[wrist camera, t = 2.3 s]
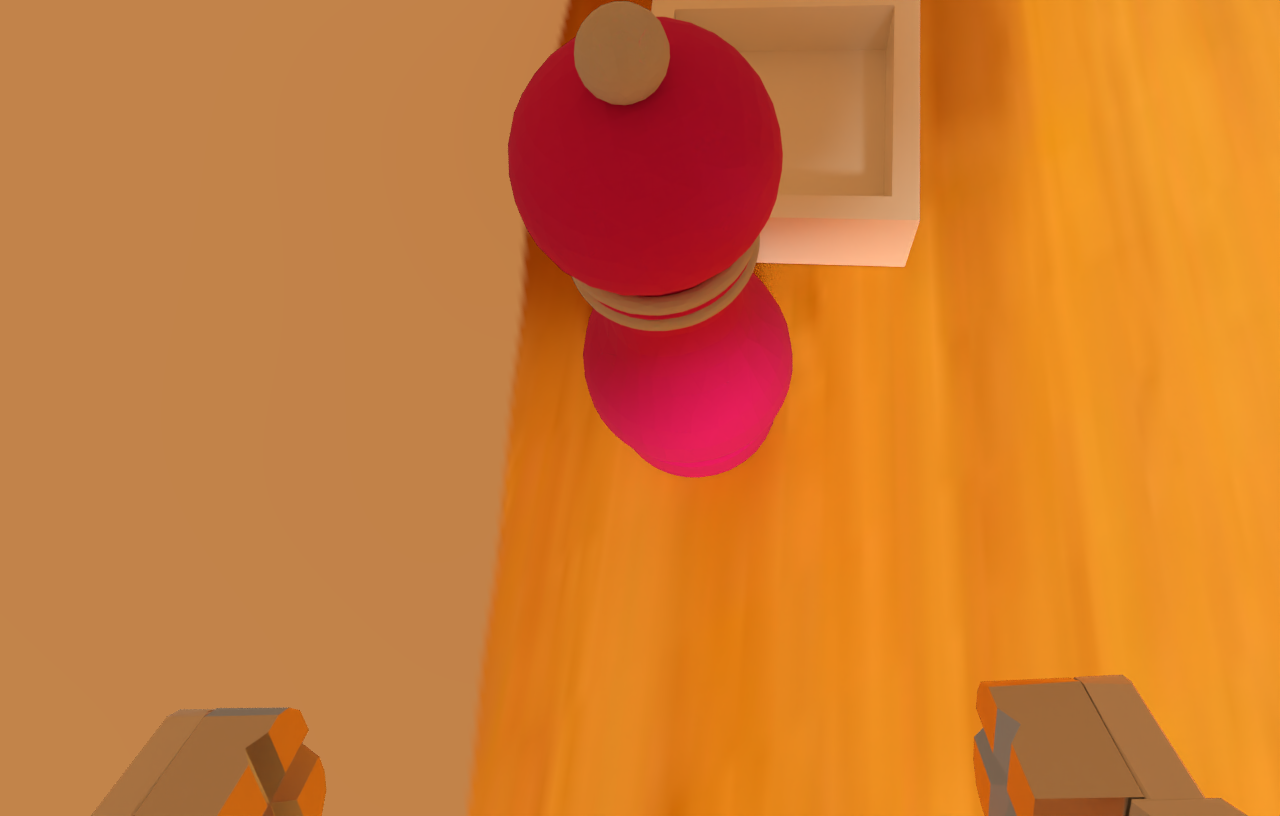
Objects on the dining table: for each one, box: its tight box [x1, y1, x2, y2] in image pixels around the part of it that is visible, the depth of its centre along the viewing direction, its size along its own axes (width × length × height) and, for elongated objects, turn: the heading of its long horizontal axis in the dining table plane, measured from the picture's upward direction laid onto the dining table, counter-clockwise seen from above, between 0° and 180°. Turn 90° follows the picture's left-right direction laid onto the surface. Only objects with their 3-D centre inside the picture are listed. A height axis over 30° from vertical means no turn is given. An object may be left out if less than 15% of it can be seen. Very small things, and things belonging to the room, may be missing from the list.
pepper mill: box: [508, 1, 792, 477], centre depth 24 cm, size 7×7×20 cm
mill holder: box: [651, 0, 920, 267], centre depth 35 cm, size 11×11×4 cm
